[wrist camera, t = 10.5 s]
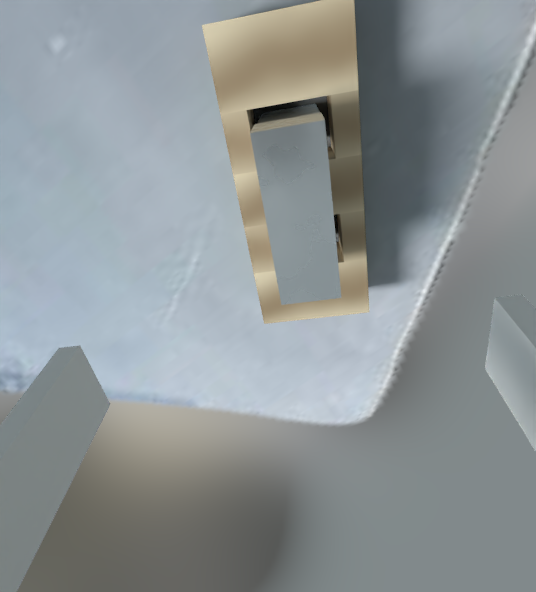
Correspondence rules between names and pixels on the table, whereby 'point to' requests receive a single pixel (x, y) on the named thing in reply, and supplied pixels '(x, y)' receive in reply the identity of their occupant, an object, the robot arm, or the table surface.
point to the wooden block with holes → (283, 89)
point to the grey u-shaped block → (298, 202)
